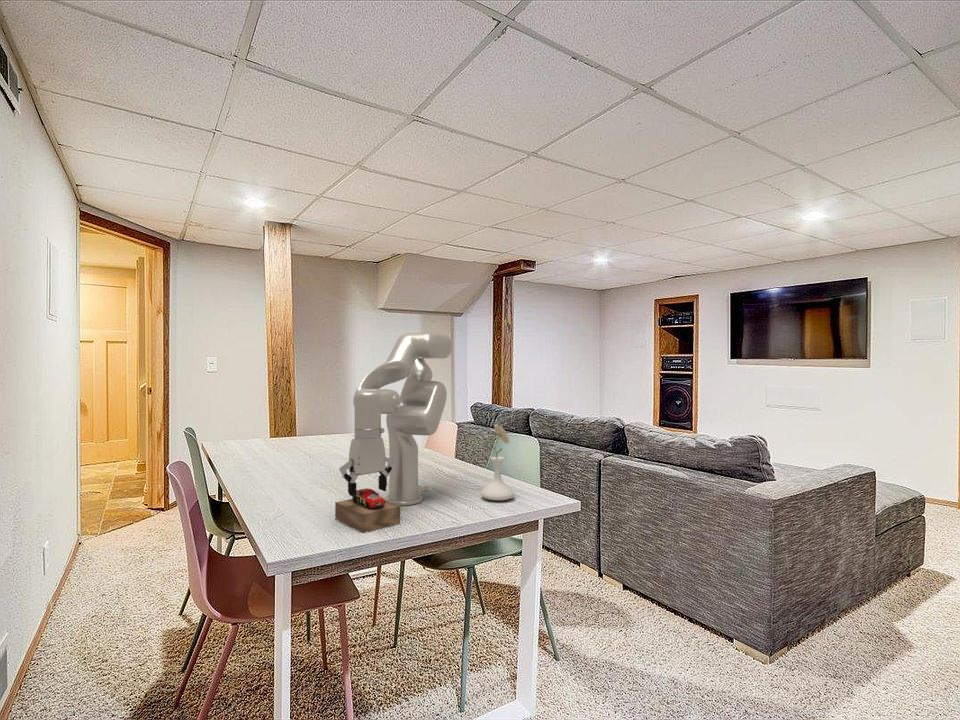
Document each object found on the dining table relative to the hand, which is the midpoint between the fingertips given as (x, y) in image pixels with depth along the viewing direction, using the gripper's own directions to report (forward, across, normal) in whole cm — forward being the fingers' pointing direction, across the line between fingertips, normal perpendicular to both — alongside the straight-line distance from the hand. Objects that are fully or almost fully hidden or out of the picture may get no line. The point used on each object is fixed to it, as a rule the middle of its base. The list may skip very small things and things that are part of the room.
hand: (367, 492), depth 148 cm
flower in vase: (+9, -46, +7) cm, 47 cm away
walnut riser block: (+8, 0, 0) cm, 8 cm away
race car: (+3, 0, 0) cm, 3 cm away
